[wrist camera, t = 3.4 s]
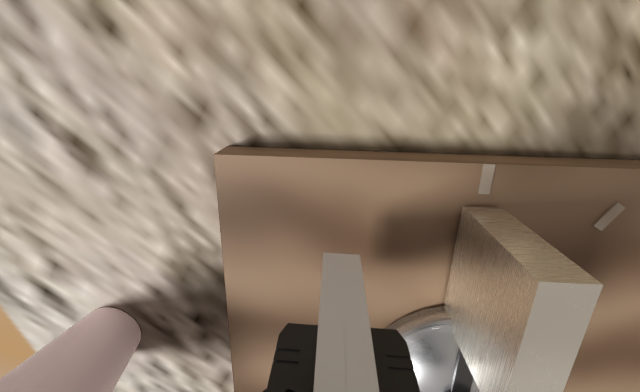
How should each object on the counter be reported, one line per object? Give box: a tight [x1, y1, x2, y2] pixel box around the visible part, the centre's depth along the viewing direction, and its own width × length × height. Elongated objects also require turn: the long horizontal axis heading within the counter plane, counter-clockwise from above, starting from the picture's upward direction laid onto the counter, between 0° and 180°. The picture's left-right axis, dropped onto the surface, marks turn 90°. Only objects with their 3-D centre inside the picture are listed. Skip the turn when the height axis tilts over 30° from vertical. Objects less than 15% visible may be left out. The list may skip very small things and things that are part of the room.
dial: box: [386, 206, 603, 392], centre depth 15 cm, size 16×10×6 cm, turn 179°
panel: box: [214, 146, 640, 392], centre depth 19 cm, size 21×25×2 cm
